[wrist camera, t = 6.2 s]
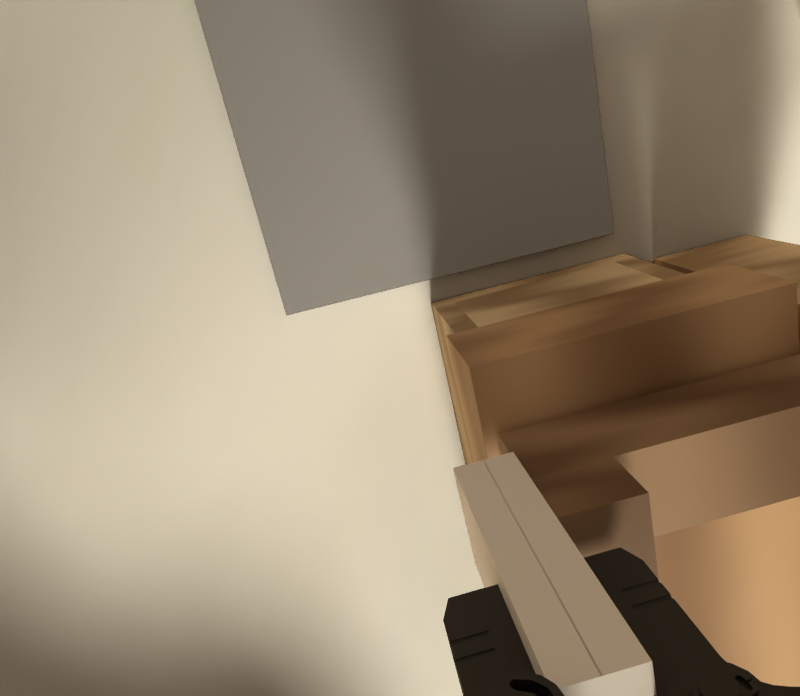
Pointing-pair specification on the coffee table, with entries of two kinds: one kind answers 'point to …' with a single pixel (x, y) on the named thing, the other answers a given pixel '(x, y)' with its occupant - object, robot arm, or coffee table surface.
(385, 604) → the coffee table surface
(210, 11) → the mat
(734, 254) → the open wooden box
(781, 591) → the lid
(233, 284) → the coffee table surface
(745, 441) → the key
